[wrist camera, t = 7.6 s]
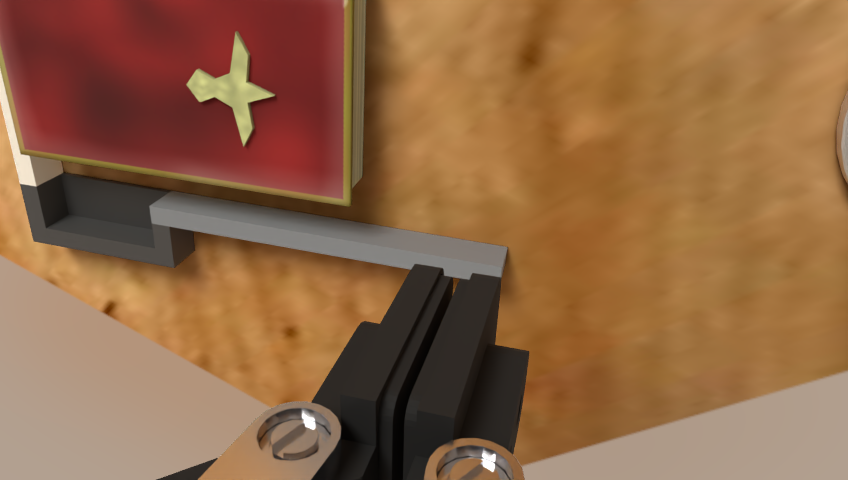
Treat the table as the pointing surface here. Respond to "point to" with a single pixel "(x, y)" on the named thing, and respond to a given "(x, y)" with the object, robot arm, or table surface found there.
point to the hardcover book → (193, 89)
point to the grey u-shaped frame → (213, 223)
